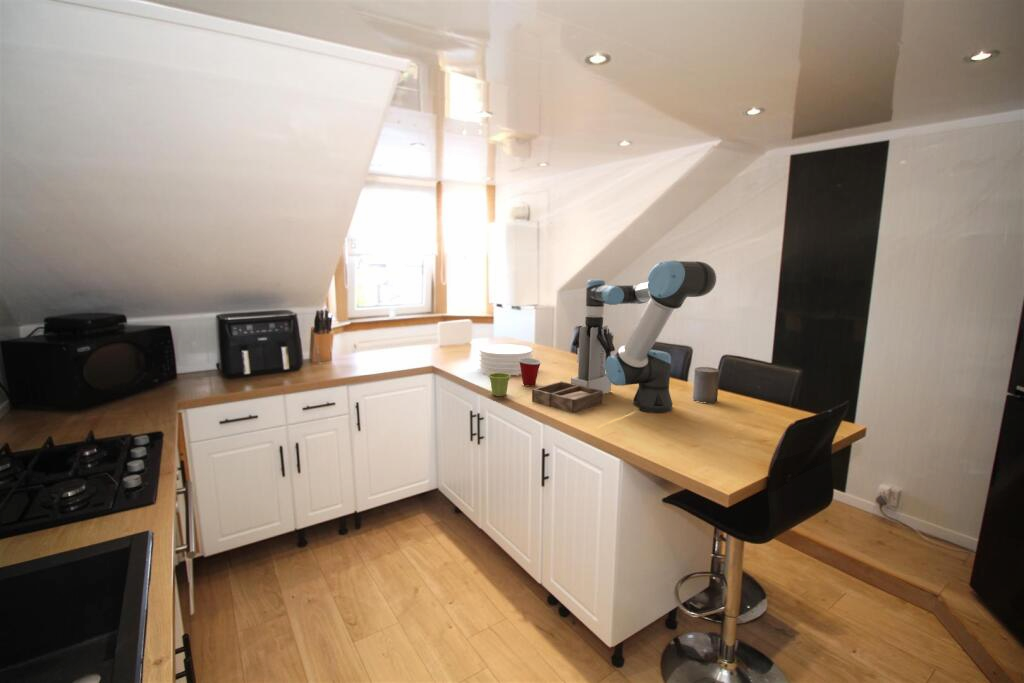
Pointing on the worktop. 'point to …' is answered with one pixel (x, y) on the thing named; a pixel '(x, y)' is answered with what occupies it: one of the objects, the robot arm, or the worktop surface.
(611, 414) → the worktop surface
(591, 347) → the brochure
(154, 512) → the worktop surface
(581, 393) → the offcut top
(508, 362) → the plate stack
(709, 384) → the pillar candle
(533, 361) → the plastic cup
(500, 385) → the plant pot
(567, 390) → the tray
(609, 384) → the holder
